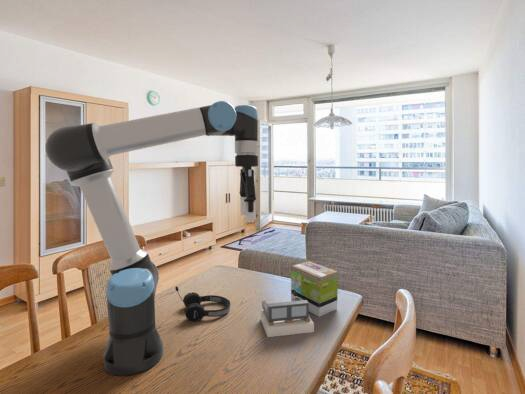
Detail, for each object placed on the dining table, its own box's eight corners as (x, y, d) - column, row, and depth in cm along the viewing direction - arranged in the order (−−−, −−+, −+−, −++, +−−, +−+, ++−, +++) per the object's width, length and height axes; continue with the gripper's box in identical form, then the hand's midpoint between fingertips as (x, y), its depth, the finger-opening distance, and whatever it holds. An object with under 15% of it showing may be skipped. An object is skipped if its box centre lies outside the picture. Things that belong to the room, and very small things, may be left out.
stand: (260, 319, 105) (260, 308, 105) (302, 315, 108) (302, 304, 108) (267, 337, 94) (267, 324, 94) (313, 332, 97) (314, 319, 97)
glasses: (261, 306, 106) (261, 292, 106) (298, 302, 109) (298, 289, 108) (268, 322, 95) (268, 307, 95) (308, 318, 98) (309, 303, 97)
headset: (174, 281, 114) (227, 280, 120) (172, 306, 114) (225, 304, 121) (176, 295, 101) (235, 294, 107) (174, 323, 102) (233, 320, 108)
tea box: (290, 302, 118) (290, 265, 117) (308, 295, 124) (309, 260, 123) (319, 318, 106) (319, 276, 105) (338, 309, 112) (339, 270, 111)
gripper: (265, 153, 89) (265, 225, 92) (251, 155, 114) (252, 212, 116) (239, 153, 88) (240, 226, 90) (231, 155, 112) (232, 213, 115)
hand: (247, 218), depth 103 cm, fingers open, 13 cm apart
